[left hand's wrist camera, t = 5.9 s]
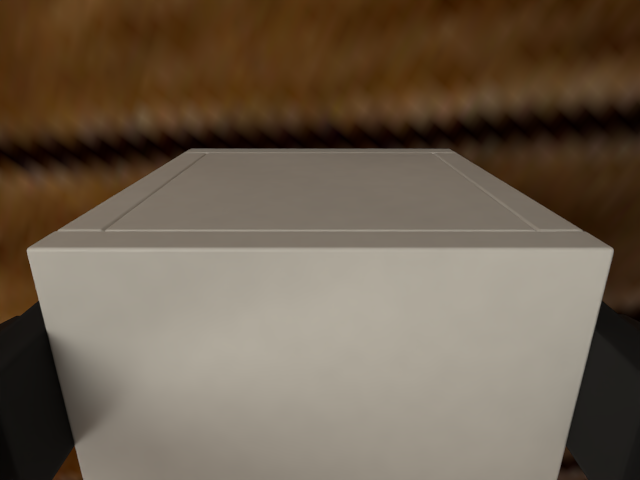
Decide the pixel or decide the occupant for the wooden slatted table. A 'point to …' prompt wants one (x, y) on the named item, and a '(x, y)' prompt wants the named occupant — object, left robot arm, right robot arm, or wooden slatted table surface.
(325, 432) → the cabinet
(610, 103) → the wooden slatted table surface
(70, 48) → the wooden slatted table surface
